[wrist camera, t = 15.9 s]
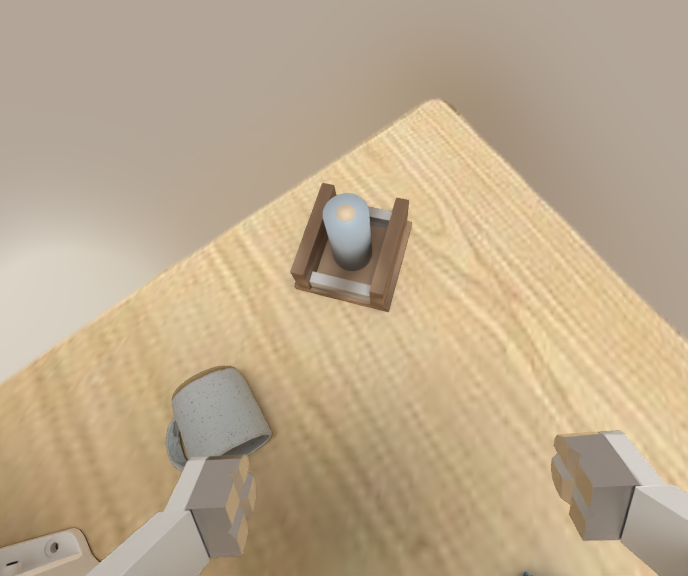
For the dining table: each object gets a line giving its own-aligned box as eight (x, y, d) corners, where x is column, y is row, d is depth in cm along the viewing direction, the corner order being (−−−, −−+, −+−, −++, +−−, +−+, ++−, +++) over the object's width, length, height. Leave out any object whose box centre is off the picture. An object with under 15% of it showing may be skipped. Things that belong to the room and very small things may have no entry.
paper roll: (335, 272, 46) (323, 236, 37) (333, 238, 47) (321, 195, 39) (373, 269, 45) (370, 231, 37) (370, 234, 47) (367, 190, 38)
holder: (296, 288, 47) (284, 270, 42) (324, 207, 50) (317, 181, 45) (388, 312, 45) (388, 296, 39) (411, 226, 48) (414, 201, 43)
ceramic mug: (246, 366, 44) (218, 354, 37) (282, 433, 41) (258, 434, 34) (161, 420, 43) (115, 418, 36) (192, 493, 40) (148, 506, 33)
